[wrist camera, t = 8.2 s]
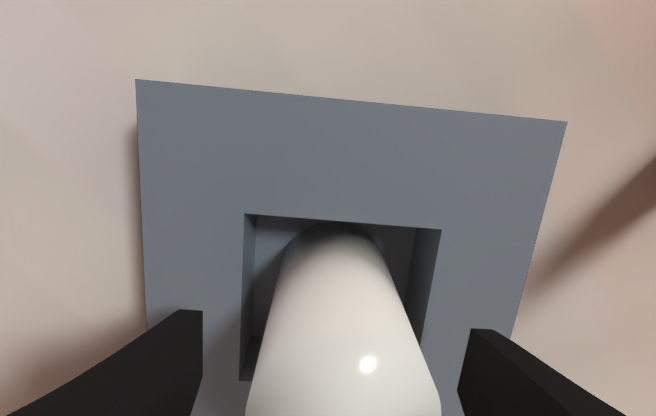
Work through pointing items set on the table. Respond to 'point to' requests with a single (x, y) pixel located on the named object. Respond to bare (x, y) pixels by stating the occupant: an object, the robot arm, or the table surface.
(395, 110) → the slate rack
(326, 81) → the table surface
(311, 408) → the white rounded egg shape
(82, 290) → the table surface
